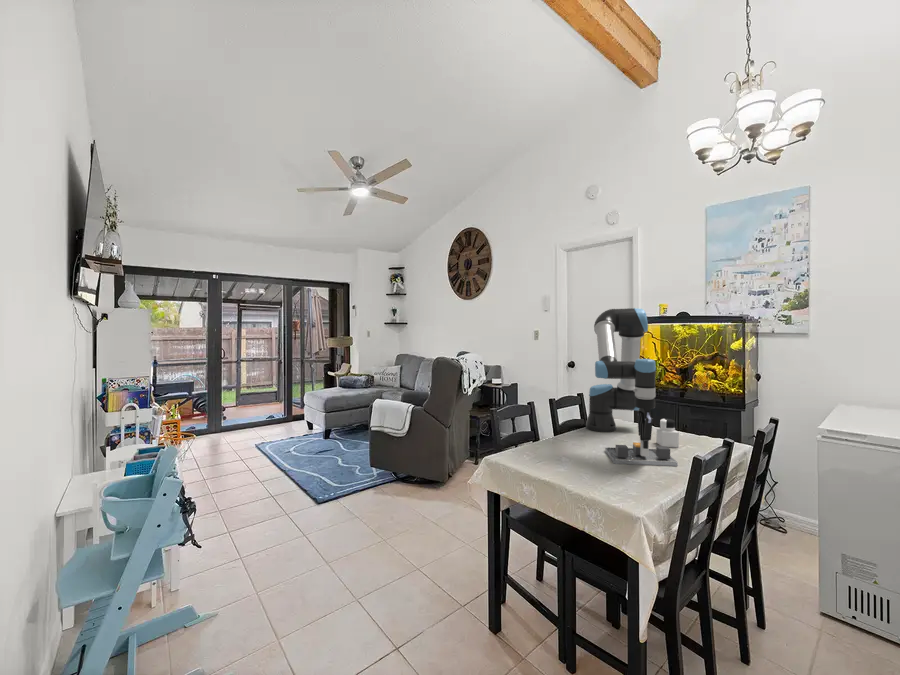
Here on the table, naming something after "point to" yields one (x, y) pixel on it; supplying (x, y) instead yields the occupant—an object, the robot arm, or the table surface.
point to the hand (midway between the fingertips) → (644, 455)
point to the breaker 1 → (622, 451)
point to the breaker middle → (636, 448)
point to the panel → (640, 458)
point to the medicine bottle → (667, 434)
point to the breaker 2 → (662, 452)
